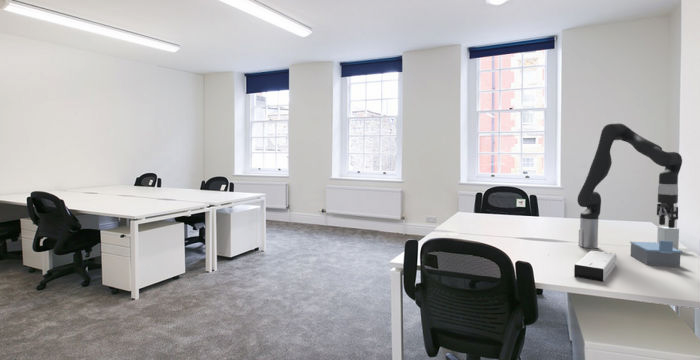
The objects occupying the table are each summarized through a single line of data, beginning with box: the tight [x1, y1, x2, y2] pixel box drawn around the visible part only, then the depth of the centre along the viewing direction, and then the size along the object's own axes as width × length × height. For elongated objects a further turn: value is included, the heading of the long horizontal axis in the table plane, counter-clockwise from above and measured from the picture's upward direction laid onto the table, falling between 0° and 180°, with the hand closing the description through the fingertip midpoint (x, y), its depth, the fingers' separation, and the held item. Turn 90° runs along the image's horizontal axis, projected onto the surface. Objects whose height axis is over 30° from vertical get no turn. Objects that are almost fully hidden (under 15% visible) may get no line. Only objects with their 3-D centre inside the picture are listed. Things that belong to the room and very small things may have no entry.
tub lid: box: [629, 240, 682, 254], centre depth 197 cm, size 15×21×7 cm
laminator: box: [573, 250, 617, 282], centre depth 184 cm, size 34×12×6 cm, turn 137°
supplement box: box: [656, 225, 680, 250], centre depth 223 cm, size 7×7×13 cm
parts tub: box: [630, 243, 681, 267], centre depth 199 cm, size 14×18×7 cm
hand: (666, 226), depth 187 cm, fingers open, 8 cm apart
